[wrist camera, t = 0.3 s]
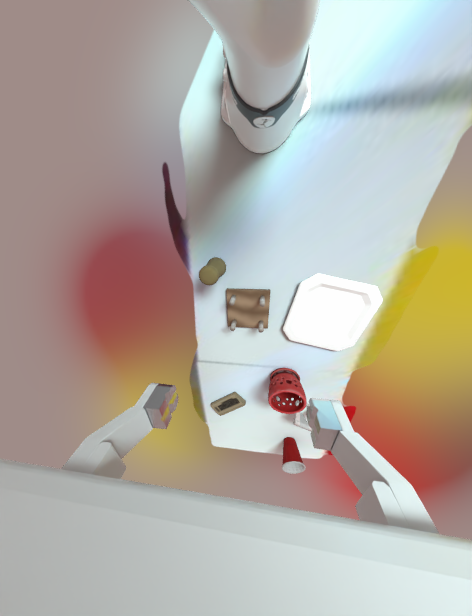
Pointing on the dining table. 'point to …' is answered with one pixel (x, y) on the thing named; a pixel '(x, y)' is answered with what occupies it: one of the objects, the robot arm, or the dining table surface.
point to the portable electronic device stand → (301, 419)
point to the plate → (331, 312)
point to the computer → (228, 403)
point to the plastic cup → (291, 457)
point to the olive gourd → (212, 271)
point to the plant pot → (286, 391)
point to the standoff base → (248, 308)
